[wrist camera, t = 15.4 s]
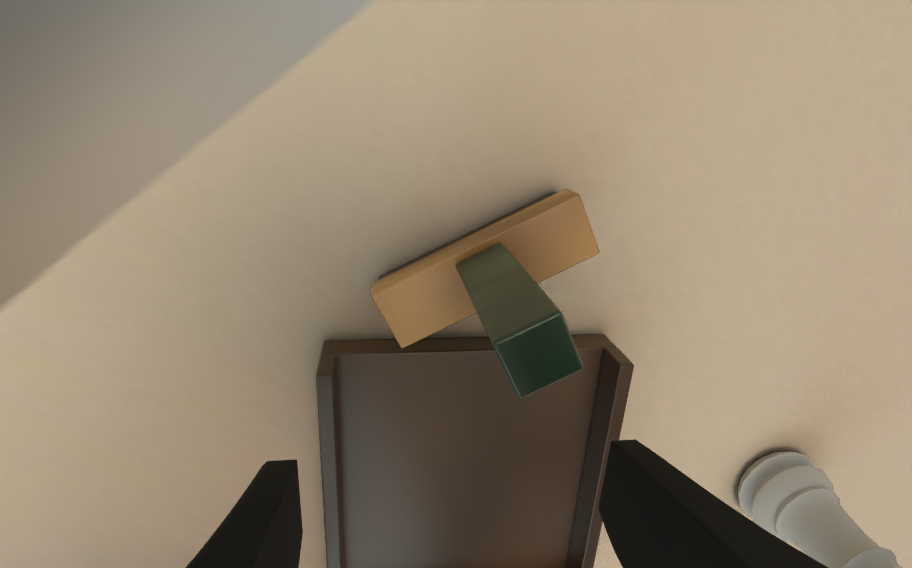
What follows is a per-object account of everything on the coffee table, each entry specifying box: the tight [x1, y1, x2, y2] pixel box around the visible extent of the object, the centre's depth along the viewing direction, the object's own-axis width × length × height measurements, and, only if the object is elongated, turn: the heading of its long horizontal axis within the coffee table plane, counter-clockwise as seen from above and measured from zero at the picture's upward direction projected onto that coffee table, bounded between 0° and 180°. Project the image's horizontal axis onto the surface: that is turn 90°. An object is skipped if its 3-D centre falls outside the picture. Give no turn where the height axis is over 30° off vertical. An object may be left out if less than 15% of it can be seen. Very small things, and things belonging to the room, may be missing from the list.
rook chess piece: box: [738, 451, 902, 568], centre depth 22 cm, size 4×4×8 cm
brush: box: [371, 189, 599, 398], centre depth 15 cm, size 8×2×8 cm, turn 115°
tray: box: [316, 335, 634, 568], centre depth 22 cm, size 12×14×3 cm
